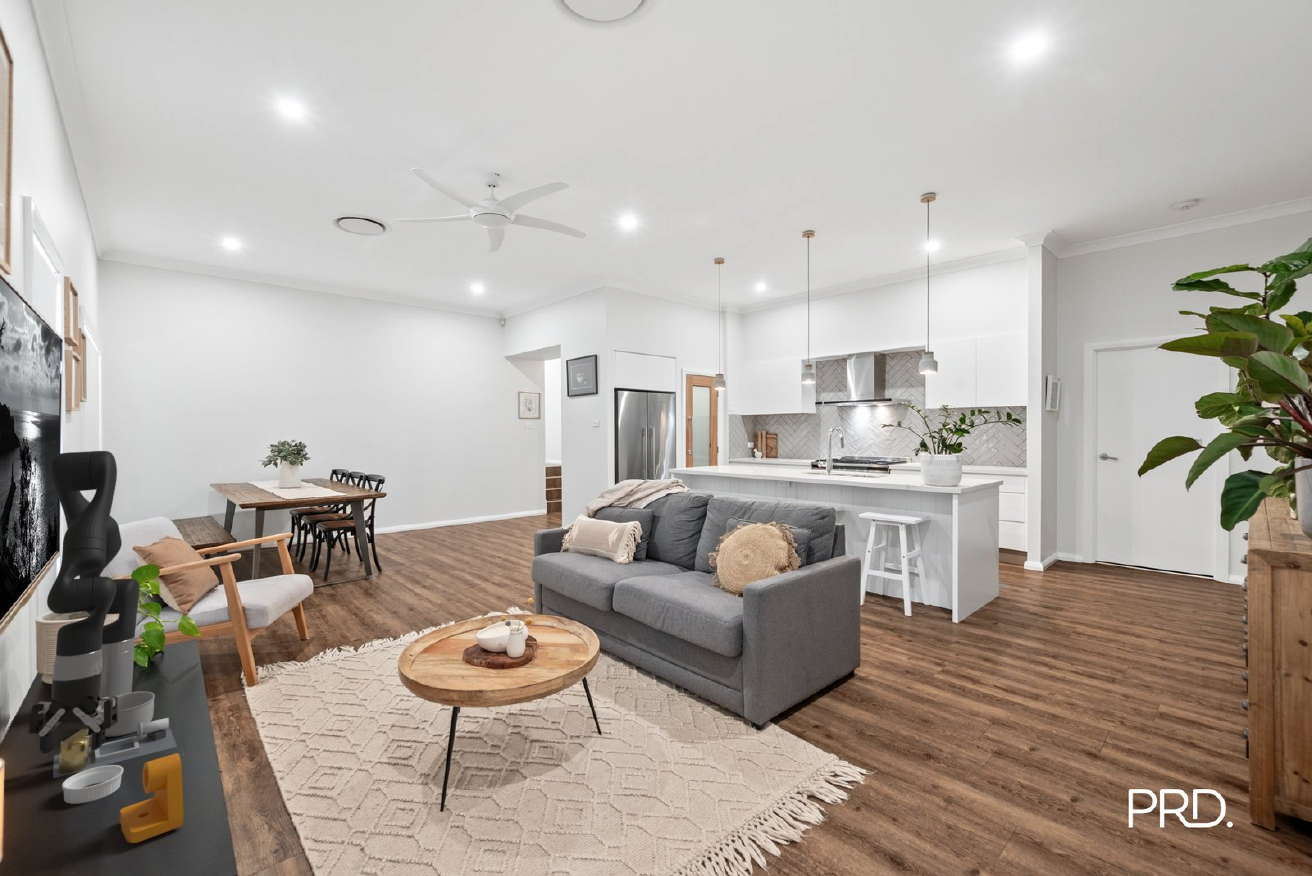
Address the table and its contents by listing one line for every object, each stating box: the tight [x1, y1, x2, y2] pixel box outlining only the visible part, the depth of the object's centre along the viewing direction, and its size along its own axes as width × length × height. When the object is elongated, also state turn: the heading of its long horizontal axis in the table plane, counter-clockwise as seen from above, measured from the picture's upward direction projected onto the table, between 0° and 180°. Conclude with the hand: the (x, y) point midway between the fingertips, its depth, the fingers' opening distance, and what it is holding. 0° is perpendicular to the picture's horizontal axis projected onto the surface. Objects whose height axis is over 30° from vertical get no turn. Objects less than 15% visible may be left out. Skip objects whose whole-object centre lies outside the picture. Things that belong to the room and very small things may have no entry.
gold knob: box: [59, 728, 89, 774], centre depth 126 cm, size 6×4×7 cm
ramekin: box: [61, 764, 124, 805], centre depth 118 cm, size 9×9×4 cm
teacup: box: [97, 690, 156, 738], centre depth 145 cm, size 14×11×8 cm
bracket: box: [119, 752, 185, 844], centre depth 110 cm, size 11×7×12 cm, turn 51°
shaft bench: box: [52, 717, 178, 779], centre depth 133 cm, size 20×12×6 cm, turn 135°
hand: (72, 750), depth 126 cm, fingers open, 8 cm apart
